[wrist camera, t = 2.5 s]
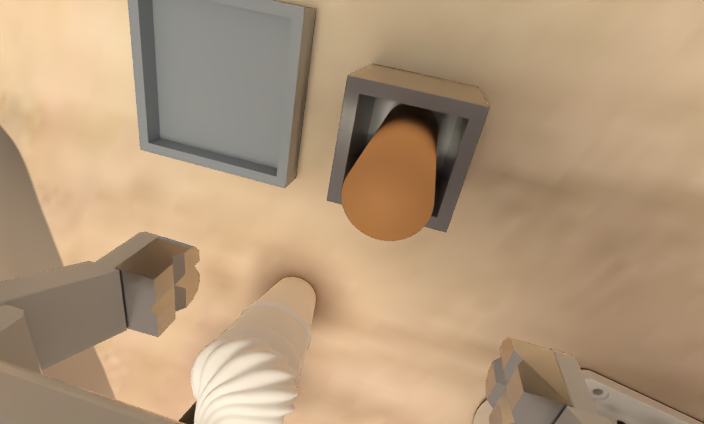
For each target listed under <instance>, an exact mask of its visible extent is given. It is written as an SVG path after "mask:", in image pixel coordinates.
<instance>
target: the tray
mask: <svg viewBox="0 0 704 424" xmlns="http://www.w3.org/2000/svg"><path fill="white" fill-rule="evenodd" d="M128 10H129V21H130V33H131V45H132V57H133V68H134V80H135V92H136V104H137V115H138V127H139V139H140V150H144V151H147V152H151V153H155V154H159V155H162V156H166V157H170V158H174V159H177V160H181V161H185V162H189V163H192V164H196V165H200V166H204V167H207V168H211V169H215V170H219V171H222V172H226V173H230V174H234V175H237V176H241V177H245V178H249V179H252V180H256V181H260V182H264V183H267V184H271V185H275V186H279V187H282V188H286V187H287V186H288V185H289V184H290V183H291V182H292V181H293V180H294V179H295V178H296V174H297V165H298V157H299V149H300V140H301V132H302V124H303V115H304V107H305V99H306V91H307V82H308V74H309V66H310V57H311V49H312V41H313V32H314V24H315V16H316V9H313V8H308V7H304V6H299V5H294V4H289V3H284V2H279V1H275V0H128Z"/></svg>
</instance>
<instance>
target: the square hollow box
mask: <svg viewBox="0 0 704 424" xmlns="http://www.w3.org/2000/svg"><path fill="white" fill-rule="evenodd" d="M400 104H407V105H411V106H415V107H420V108H424V109H428V110H431V111H432V112H433V114H434V115H435V117H436V120H437V123H438V142H437V160H436V179H435V197H434V208H433V212H432V214H431V217H430V219H429V221H428V222H427V224H426V225H425V226H424V227H428V228H432V229H435V230H439V231H443V232H447V229H448V226H449V223H450V220H451V217H452V214H453V212H454V209H455V206H456V203H457V200H458V197H459V194H460V191H461V189H462V186H463V183H464V180H465V177H466V174H467V171H468V168H469V165H470V163H471V160H472V157H473V154H474V151H475V148H476V145H477V142H478V140H479V137H480V134H481V131H482V128H483V125H484V122H485V119H486V117H487V114H488V111H489V108H490V107H489V105H488V103H487V101H486V100H485V98H484V96H483V94H482V93H481V91H480V89H479V87H477V86H472V85H468V84H463V83H459V82H454V81H450V80H445V79H440V78H436V77H431V76H427V75H422V74H418V73H413V72H409V71H404V70H400V69H395V68H390V67H386V66H381V65H377V64H371V65H369V66H367V67H364V68H362V69H360V70H358V71H356V72H353V73H351V74H349V75H348V76H347V82H346V88H345V94H344V100H343V106H342V112H341V118H340V124H339V130H338V136H337V142H336V148H335V154H334V160H333V166H332V172H331V178H330V184H329V190H328V196H327V201H331V202H334V203H338V204H342V187H343V183H344V181H345V178H346V177H347V175H348V173H349V172H350V170H351V169H352V167H353V166H354V164H355V163H356V161H357V160H358V158H359V157H360V155H361V154H362V152H363V151H364V149H365V148H366V146H367V145H368V143H369V142H370V140H371V139H372V137H373V136H374V134H375V133H376V131H377V130H378V128H379V127H380V125H381V124H382V122H383V121H384V119H385V118H386V116H387V115H388V114H389V112H390V111H391V110H392V109H393V108H395V107H396V106H398V105H400Z"/></svg>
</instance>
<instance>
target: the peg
mask: <svg viewBox="0 0 704 424" xmlns="http://www.w3.org/2000/svg"><path fill="white" fill-rule="evenodd" d="M437 142H438V123H437V120H436V117H435V115H434V114H433V112H432V111H431V110H428V109H424V108H420V107H415V106H411V105H407V104H400V105H398V106H396V107H395V108H393V109H392V110H391V111H390V112H389V114H388V115H387V116H386V118H385V119H384V121H383V122H382V124H381V125H380V127H379V128H378V130H377V131H376V133H375V134H374V136H373V137H372V139H371V140H370V142H369V143H368V145H367V146H366V148H365V149H364V151H363V152H362V154H361V155H360V157H359V158H358V160H357V161H356V163H355V164H354V166H353V167H352V169H351V170H350V172H349V173H348V175H347V177H346V178H345V181H344V183H343V187H342V205H343V208H344V211H345V213H346V215H347V217H348V219H349V220H350V221H351V223H352V224H353V225H354V226H355V227H356V228H357V229H358V230H360V231H361V232H362V233H364V234H366V235H368V236H370V237H372V238H375V239H379V240H385V241H396V240H402V239H405V238H408V237H411V236H412V235H414V234H416V233H417V232H419V231H420V230H421V229H422V228H423V227H424V226H425V225H426V224H427V222H428V221H429V219H430V217H431V214H432V212H433V208H434V197H435V179H436V160H437Z"/></svg>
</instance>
